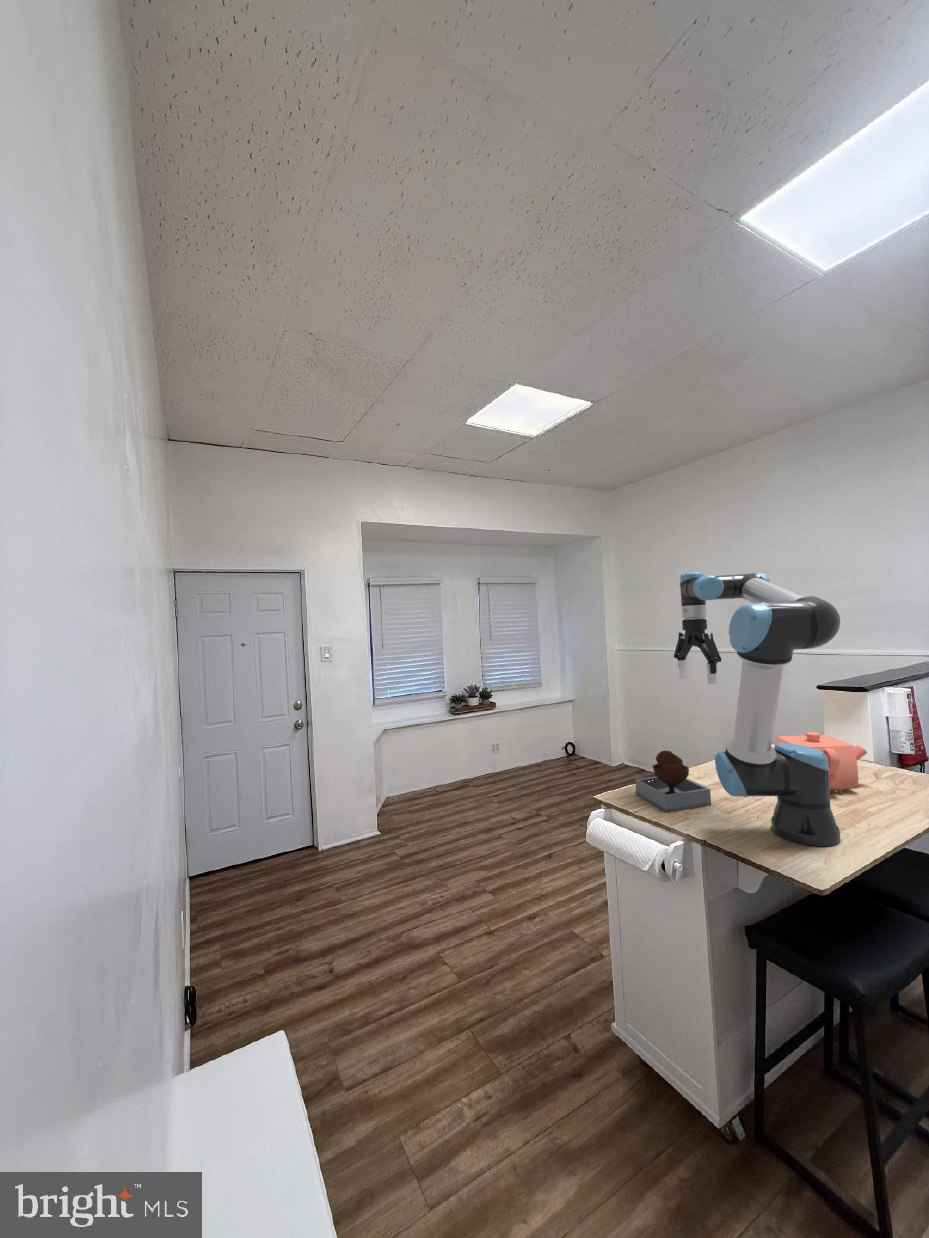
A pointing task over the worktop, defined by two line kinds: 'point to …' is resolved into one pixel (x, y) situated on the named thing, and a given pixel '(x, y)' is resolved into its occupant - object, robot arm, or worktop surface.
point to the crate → (685, 797)
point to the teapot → (832, 757)
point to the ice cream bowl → (670, 770)
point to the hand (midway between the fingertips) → (697, 681)
